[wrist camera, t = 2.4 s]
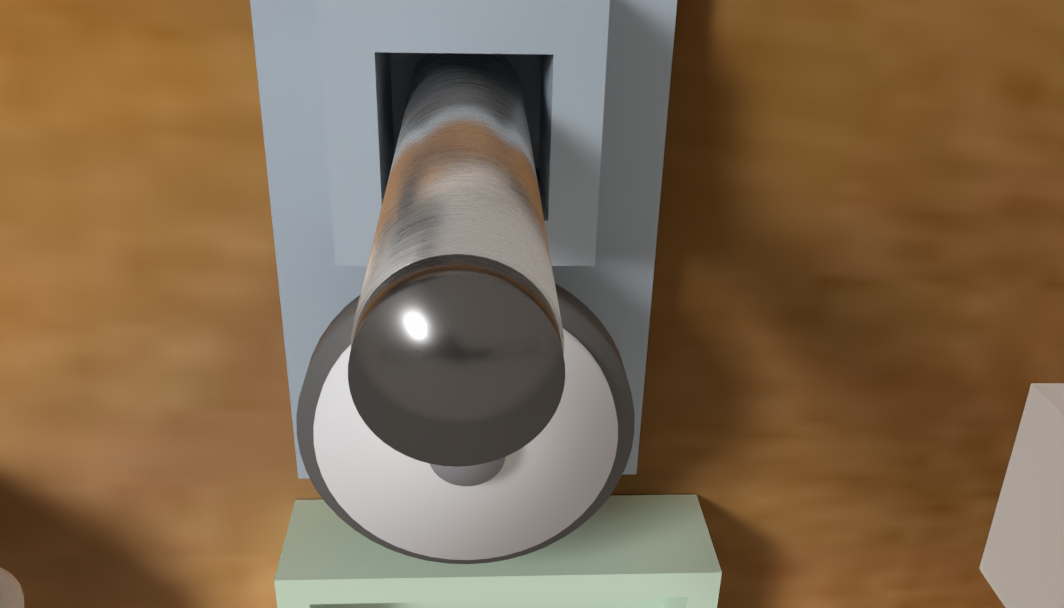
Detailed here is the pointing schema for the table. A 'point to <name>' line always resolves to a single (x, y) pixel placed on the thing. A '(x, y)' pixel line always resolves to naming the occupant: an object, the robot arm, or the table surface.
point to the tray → (512, 564)
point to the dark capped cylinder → (459, 277)
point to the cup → (10, 591)
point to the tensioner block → (571, 226)
